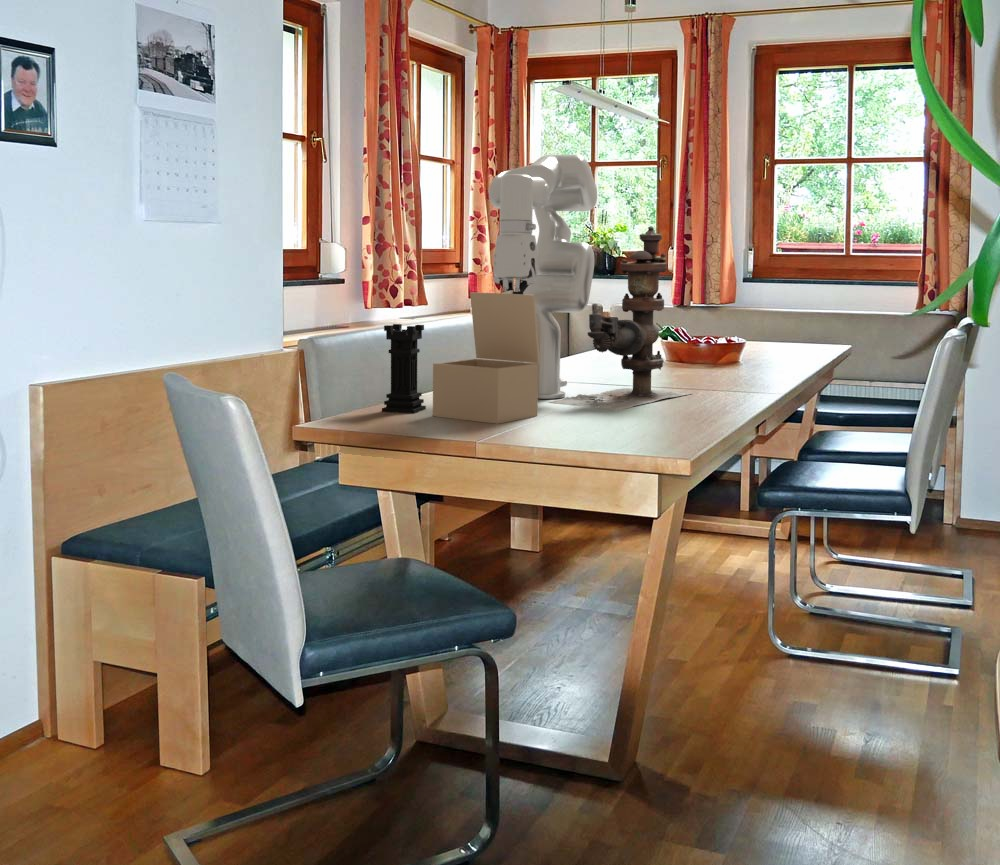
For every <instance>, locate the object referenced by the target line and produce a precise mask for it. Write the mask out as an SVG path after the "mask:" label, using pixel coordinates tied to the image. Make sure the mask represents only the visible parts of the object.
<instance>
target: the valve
mask: <svg viewBox="0 0 1000 865" xmlns="http://www.w3.org/2000/svg"><path fill="white" fill-rule="evenodd" d="M647 229H648V230H647V231H645V233H641V234H639V240H641V242H643V250H637V251H634V252H633V253H631V254H630V257H629V260H635V261H628V260H626V259H622V260H621V262H620V263H619V265H620V266H619V268H620V271H621V273H622V274H624V275H625V274H627V290H628V293H625V295H623V299H622V300H621V301H622V302H621V306H622V307H621V310H622V311H623V312H624V313H629V311H631V313H632V320H631V319H619V317H618V316H604V315H602V313H600V312H599V308H598V306H599V305H598V304H597V303H592V304H591V311H592V313H589V315H588V317H589V320H588V322H589V324H588V325H589V330H590V331H588V332H587V336H588V337H589V338H591V339H592V342H593V343H592V344H593V347H594V349H595V350H596V351H598V352H599V353H605V352H607V351H609V352H610V353H612V354H614V355H617V356H622V358H621V360H620V364H621V368H622V369H623V370H631V371H632V388H631V387H624V388H616V389H613V390H606V391H603V392H599V393H595V394H591V393H590V394H581V393H579V394H576V396H570V397H569V396H565V397H563V398H561V399H558V400H557V399H556V400H553V401H552V400H551V401H549V403H552V404H559V405H569V406H570V405H571V406H578V407H580V406H581V407H582V406H583V407H586V406H587V407H591V408H599V409H608V410H625V409H629V408H632V407H635V406H640V405H644V404H649V403H653V402H657V401H660V400H663V399H669V398H677V397H681V396H687V395H689V393H687V392H686V393H685V392H676V391H668V390H667V391H666V390H657V389H652V371H653V370H657V369H659V371H661V369H662V368H663V366H664V363H665V361H664V358H663V357H662V354H661V350H657V351H656V352H657V354H653V348H654V347H653V344H654V343H656V342H657V341H658V339H659V336H660V331H659V329H658V327H657V326H656V325H655V324H654V311H657V312H659V311H662V310H664V308H665V299H664V298H663V295H662V294H661V292H658V291H659V287H660V285H659V283H660V281H659V280H660V279H659V278H660V273H665V272H666V271H667V270H668V263H667V262H666V260H667V257H666V254H665V253H663V252H662V253H661V254H660V255H656V254H657V253H658V249H659V242H660V241H661V240H662V239H663V235H662V234H661V233H657V232H656V231H655V228H654V226H647ZM630 295H631V296H632V297H630ZM655 296H656V297H655Z"/></svg>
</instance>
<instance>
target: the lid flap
mask: <svg viewBox="0 0 1000 865" xmlns="http://www.w3.org/2000/svg"><path fill="white" fill-rule="evenodd" d="M513 292H515V289H514V290H509V291H506V292H504V291H503V292H501V293H497V292H473V291H472V292H470V293H469V297H470V305H471V306H470V308H471V316H472V327H473V337H474V347H475V359H483V360H495V361H508V362H520V363H524V362H533V363H539V362H540V359H539V346H538V334H537V321H536V309H535V296H534V295H527V294H513Z"/></svg>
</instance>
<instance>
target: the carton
mask: <svg viewBox="0 0 1000 865" xmlns="http://www.w3.org/2000/svg"><path fill="white" fill-rule="evenodd" d="M432 368H433V369H432V416H433V417H438V418H445V419H447V418H448V419H453V420H454V419H455V420H464V421H473V422H481V423H487V424H488V423H490V424H495V425H496V424H497V425H498V424H502V423H508V422H513V421H518V420H523V419H528V418H533V417H538V407H539V406H538V404H539V403H538V401H539V399H538V364H533V363H524V362H520V361H508V360H495V359H482V358H471V359H462V360H461V359H460V360H452V361H443V362H442V361H441V362H435V363H433V364H432Z"/></svg>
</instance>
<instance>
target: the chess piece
mask: <svg viewBox="0 0 1000 865" xmlns="http://www.w3.org/2000/svg"><path fill="white" fill-rule="evenodd" d="M402 328H403V327H402V324H401V323H393V324H392V325H390V324H389V325H388V324H386V325H385V324H384V326H383V331H384V332H385V334H386V338H385V339H386V340H388V341H389V340H390V349H388V354H390V393H386V395H385V396H386V397H385V398H386V400H385V401H383V405H384V406H385V407H382V408H381V412H383V413H384V412H385V413H397V412H398V414H399V413H401V414H417V413H419V412H421V411H422V412H423V411H425V410H426V409H427V406H426V405H422V404H424V399H423V398H420V397H423V396H422V394H423V393H422V392H418V353H420V348H418V340H422V339H423V331H424V330H425V324H415V325H406V329H404V328H403V329H402ZM387 399H388V400H387Z"/></svg>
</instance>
